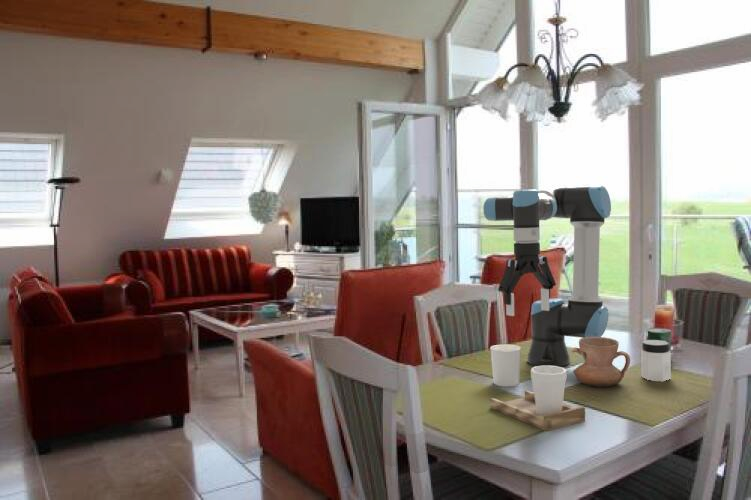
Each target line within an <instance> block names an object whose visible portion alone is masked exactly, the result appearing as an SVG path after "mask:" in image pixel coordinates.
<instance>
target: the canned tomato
mask: <svg viewBox="0 0 751 500" xmlns="http://www.w3.org/2000/svg"><path fill="white" fill-rule="evenodd" d="M646 331H647V340H661V341H666V342H668V343H669V351H671V352H672V330H671V329H669V328H664V327H663V328H662V327H651V328H648V329H647V330H646Z"/></svg>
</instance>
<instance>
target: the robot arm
mask: <svg viewBox="0 0 751 500" xmlns="http://www.w3.org/2000/svg"><path fill="white" fill-rule="evenodd" d="M482 210H483V216H484V218H485V219H486V220H487V221H489V222H490V221H492V222H502V221H503V222H504V221H505V222H506V221H507V222H508V221H509V222H510V221H511V222H512V221H513V241H514V243H513V254H514V256H515V259H509V258H508V259H507V260H506V264H505V270H504V272H503V274H502V275H503V276H502V278H501V280H500V283H499V287H498V288H497V290H498V292H501V293H502V294H504V295H503V297H504V298H503V299H504V305H505V309H506V310H505V311H506V312H505V313H506V316H509V317H514V316H515V294H514V293H513V291H514V290H515V288H516V286H517V284H518V283H519V281H520V279H521V277H522V276H524V275H527V274H533V275H534V277H535V278H536V280H537V281H538V283H539V285H541V286H542V288H540V300H537V301H534V302H533V303H532V305H531V313H530V316H531V317H530V318H531V343H530V347H529V352H528V353H527V355H526V357H527V363H529V364H530V365H533V366H535V367H536V366H558V367H564V366H568V365H569V364H570V362H571V359H570V353H569V351H568V349H567V344H566V343H565V337H570V338H571V337H572V338H573V337H575V338H579V339H581V338H587V337H602V336H604V334H605V332H606V329H607V327H608V322H609V309H608V308H607V307H606V306H605V305H603V299H601V297H600V296H599V278H600V277H599V276H600V275H599V272H600V271H599V270H600V237H601V236H600V232H601V229H600V228H601V227H602V226H603V225H605V219H607V218H609V217H610V216H611V213H612V212H611V211H612V204H611V198H610V194H609V191H608V190H607V187H605V186H604V185H602V184H585V185H584V184H581V185H579V184H578V185H563V186H556V187H552V188H547V189H542V190H537V189H517V190H514V192H513V193H512V195H509V196H501V197H500V196H499V197H497V196H494V197H488V198H486V199H485V201H484V203H483V209H482ZM552 218H558V219H569V223H570V225H572V227H573V230H574V232H573V233H574V234H573V235H574V236H573V267H572V269H573V274H572V295H571V296H570V297H569V298H568V299H567V303H565V300H564V298H551V290H553V289H554V287H555V286H556V285H557V283H556V281H555V279H554V276H553V273H552V271H551V269H550V266H549V264H548V257H547V256H541V255H540V254H541V246H540V245H541V243H540V242H539V241H540V221H547V220H550V219H552Z"/></svg>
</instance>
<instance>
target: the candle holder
mask: <svg viewBox="0 0 751 500" xmlns="http://www.w3.org/2000/svg"><path fill="white" fill-rule="evenodd" d="M489 349H490V355H491V356H490V357H491V370H492V379H493V384H494V385H495V386H499V387H504V388H505V387H506V388H507V387H508V388H509V387H510V388H511V387H516V386H518V385H519V384H520V373H521V372H520V370H521V350H522V348H521V346H519V345H516V344H509V343H504V344H496V345H491V346H490V348H489Z"/></svg>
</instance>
